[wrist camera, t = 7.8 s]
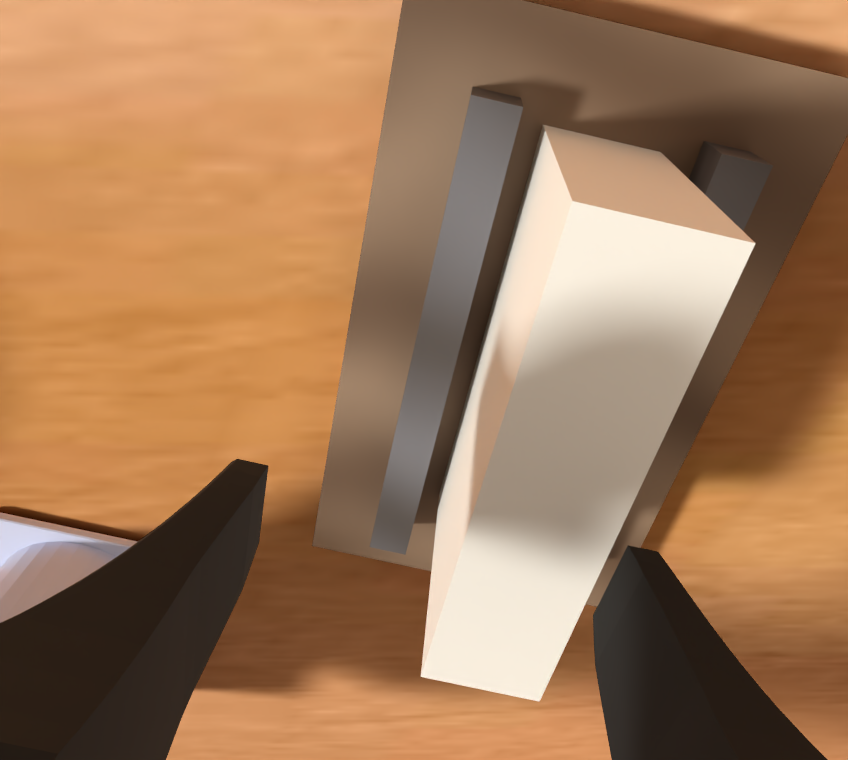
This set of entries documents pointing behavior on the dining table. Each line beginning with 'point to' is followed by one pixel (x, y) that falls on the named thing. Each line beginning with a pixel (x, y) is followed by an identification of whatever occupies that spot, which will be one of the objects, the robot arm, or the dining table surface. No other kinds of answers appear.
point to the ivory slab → (569, 400)
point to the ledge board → (496, 215)
